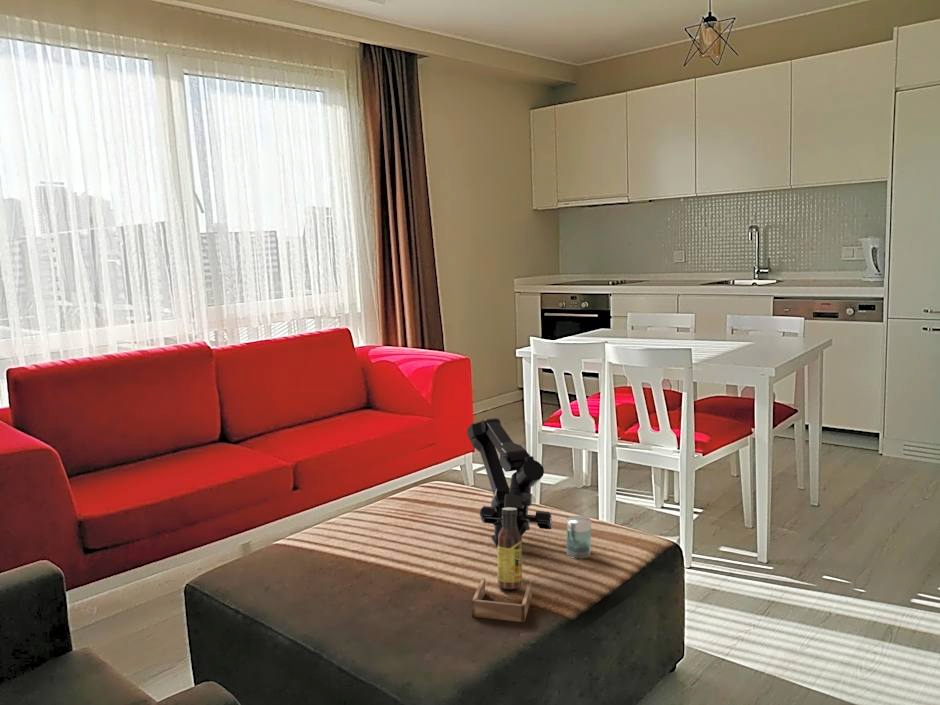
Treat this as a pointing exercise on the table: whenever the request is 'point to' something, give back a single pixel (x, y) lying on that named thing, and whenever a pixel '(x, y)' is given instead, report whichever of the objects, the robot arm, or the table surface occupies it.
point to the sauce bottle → (509, 551)
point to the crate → (500, 606)
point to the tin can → (578, 536)
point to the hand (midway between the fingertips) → (511, 548)
